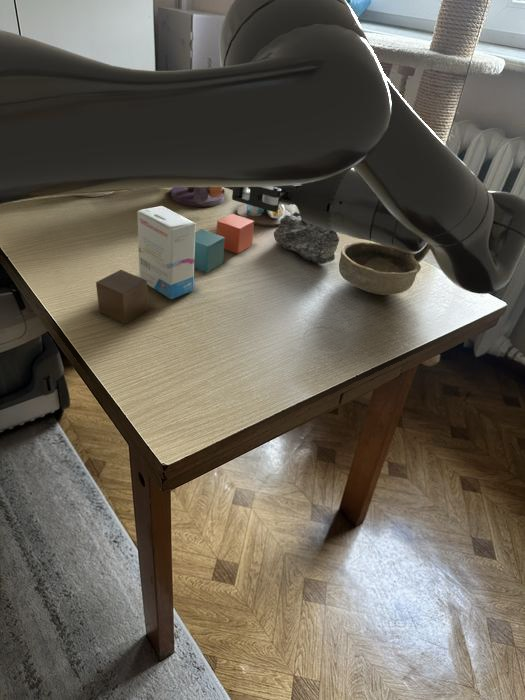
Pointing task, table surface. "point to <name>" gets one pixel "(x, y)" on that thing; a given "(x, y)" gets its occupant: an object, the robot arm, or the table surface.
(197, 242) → the block
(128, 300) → the block
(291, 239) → the rock
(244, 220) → the block
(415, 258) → the bowl
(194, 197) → the figurine
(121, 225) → the table surface
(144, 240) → the ink box
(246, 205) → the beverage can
